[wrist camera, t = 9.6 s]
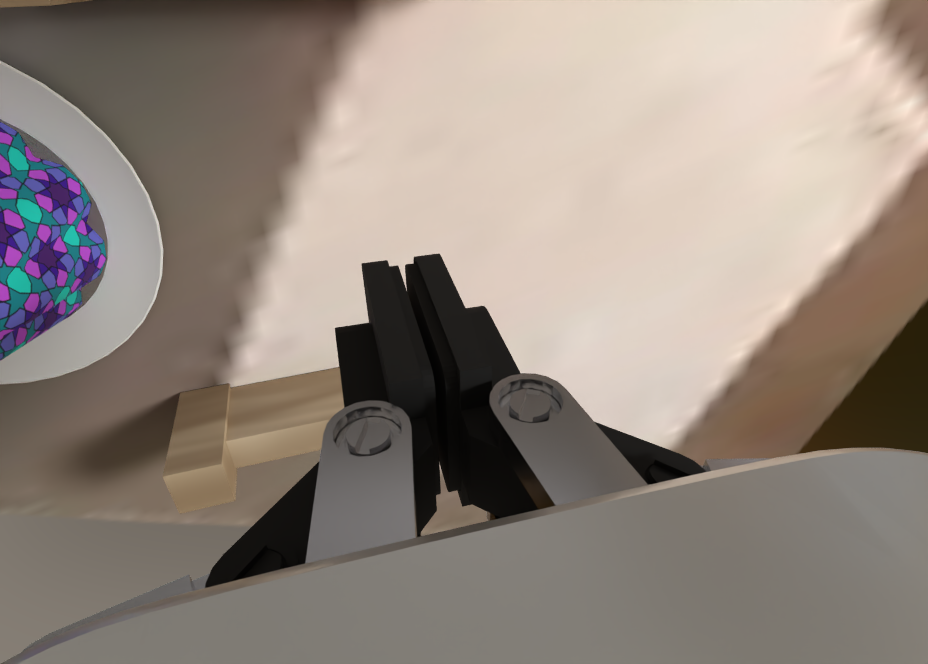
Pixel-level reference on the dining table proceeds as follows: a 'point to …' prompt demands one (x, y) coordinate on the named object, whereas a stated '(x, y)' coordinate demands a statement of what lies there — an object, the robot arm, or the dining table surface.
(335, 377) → the pair of beige bars
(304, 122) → the dining table surface
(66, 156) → the pudding
